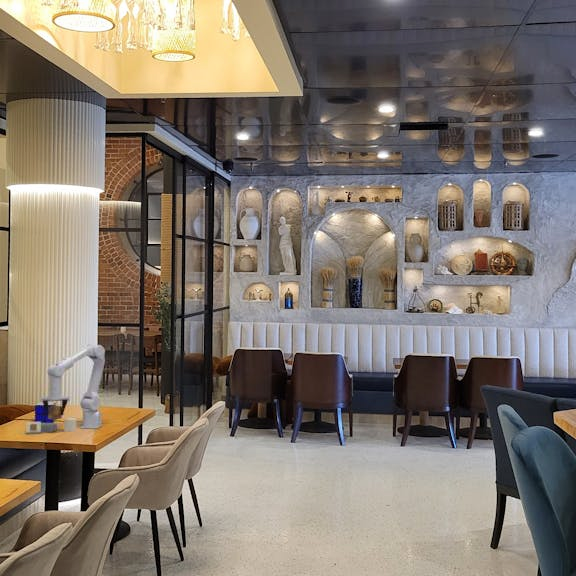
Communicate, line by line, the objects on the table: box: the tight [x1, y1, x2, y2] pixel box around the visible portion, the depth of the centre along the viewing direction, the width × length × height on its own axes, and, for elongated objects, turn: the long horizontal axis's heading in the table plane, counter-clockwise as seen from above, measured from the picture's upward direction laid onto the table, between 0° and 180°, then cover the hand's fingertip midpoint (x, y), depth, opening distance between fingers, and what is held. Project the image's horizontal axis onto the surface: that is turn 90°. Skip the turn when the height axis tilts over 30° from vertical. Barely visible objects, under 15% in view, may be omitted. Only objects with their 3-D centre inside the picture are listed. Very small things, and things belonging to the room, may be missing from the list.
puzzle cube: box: [34, 401, 57, 423], centre depth 412 cm, size 10×10×10 cm
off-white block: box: [63, 417, 77, 432], centre depth 387 cm, size 5×5×6 cm
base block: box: [41, 422, 58, 433], centre depth 386 cm, size 8×8×4 cm
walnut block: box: [48, 405, 63, 421], centre depth 380 cm, size 5×5×6 cm
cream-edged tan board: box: [25, 421, 42, 435], centre depth 377 cm, size 7×4×6 cm, turn 107°
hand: (54, 415), depth 380 cm, fingers closed on walnut block, 7 cm apart
